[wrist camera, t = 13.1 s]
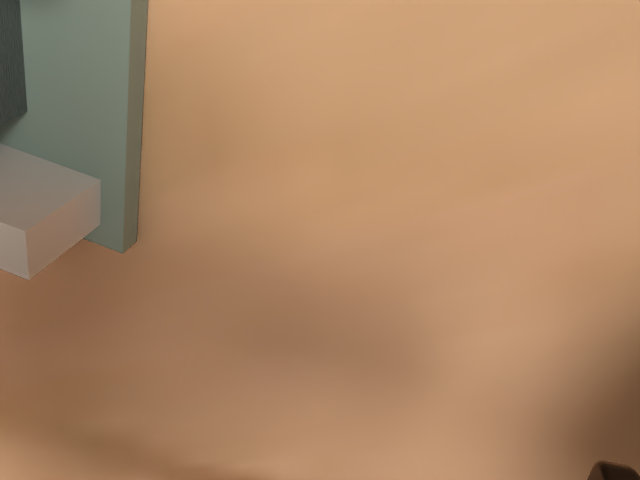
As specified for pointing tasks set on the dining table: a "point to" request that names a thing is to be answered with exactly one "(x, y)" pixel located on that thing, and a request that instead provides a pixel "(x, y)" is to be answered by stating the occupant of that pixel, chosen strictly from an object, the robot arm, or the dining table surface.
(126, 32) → the vise
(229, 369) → the dining table surface
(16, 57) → the steel block
